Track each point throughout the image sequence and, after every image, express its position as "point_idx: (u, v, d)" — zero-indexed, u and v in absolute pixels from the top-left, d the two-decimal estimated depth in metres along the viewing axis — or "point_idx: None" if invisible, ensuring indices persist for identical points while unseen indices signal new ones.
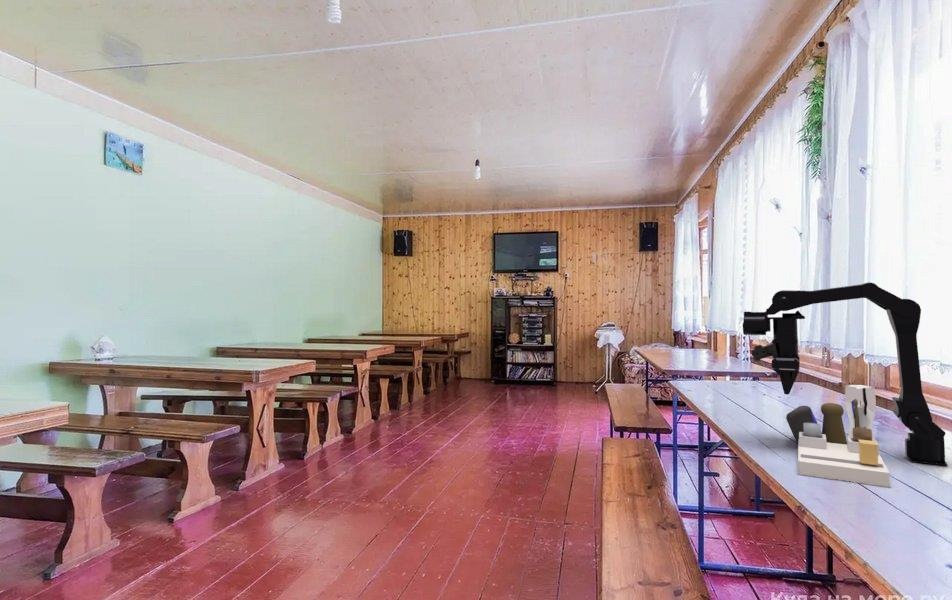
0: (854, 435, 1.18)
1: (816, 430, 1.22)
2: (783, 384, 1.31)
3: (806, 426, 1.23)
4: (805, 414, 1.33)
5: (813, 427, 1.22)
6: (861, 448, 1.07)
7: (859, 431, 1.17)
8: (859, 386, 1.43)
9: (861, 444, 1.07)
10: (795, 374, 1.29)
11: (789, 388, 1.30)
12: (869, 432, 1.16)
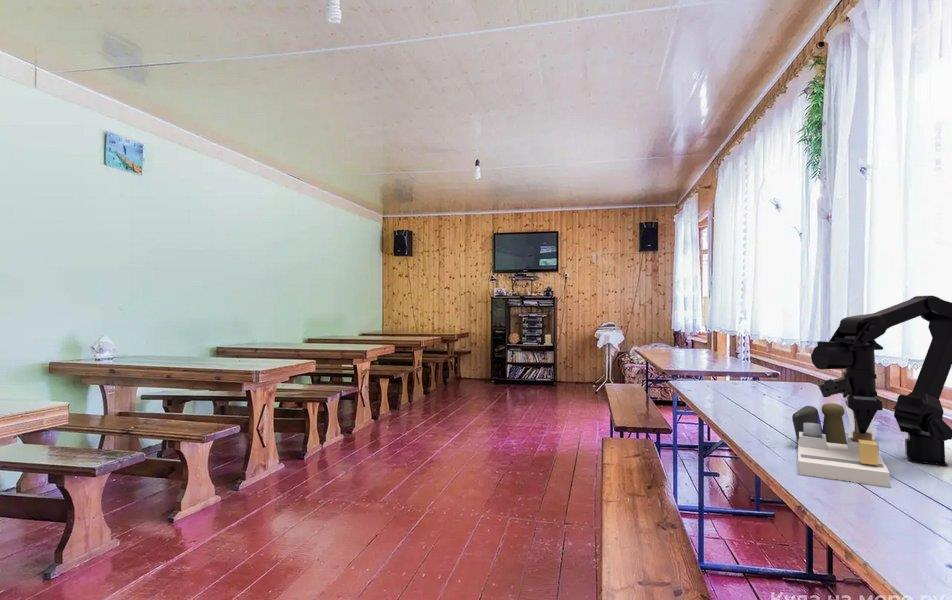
0: (854, 439, 1.18)
1: (816, 430, 1.22)
2: (859, 422, 1.18)
3: (806, 426, 1.23)
4: (812, 415, 1.32)
5: (813, 427, 1.22)
6: (861, 448, 1.07)
7: (859, 435, 1.17)
8: None
9: (861, 444, 1.07)
10: (873, 412, 1.15)
11: (866, 427, 1.17)
12: (869, 436, 1.16)
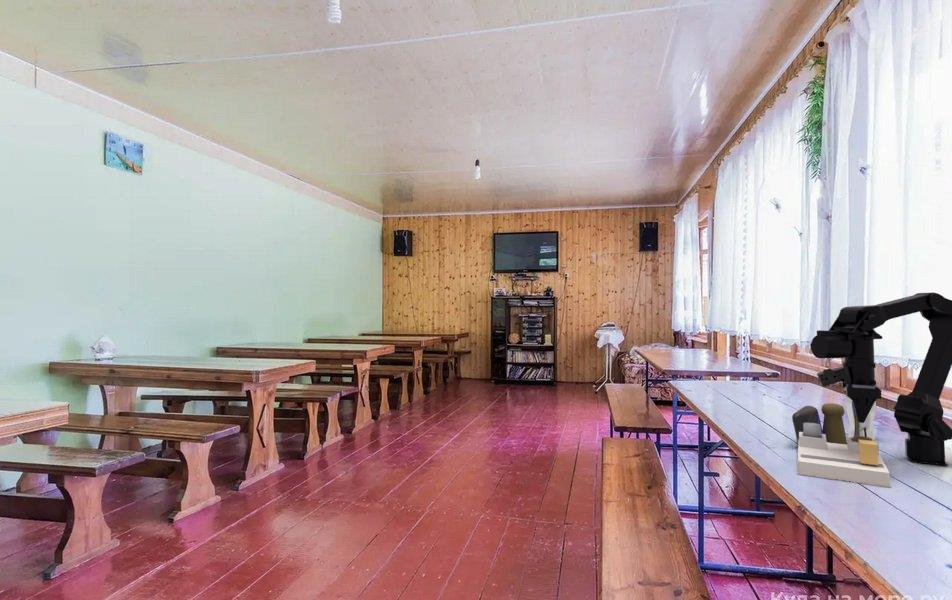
0: None
1: (816, 430, 1.22)
2: (857, 411, 1.18)
3: (806, 426, 1.23)
4: (812, 416, 1.32)
5: (813, 427, 1.22)
6: (861, 448, 1.07)
7: None
8: None
9: (861, 444, 1.07)
10: (872, 401, 1.15)
11: (864, 416, 1.17)
12: None
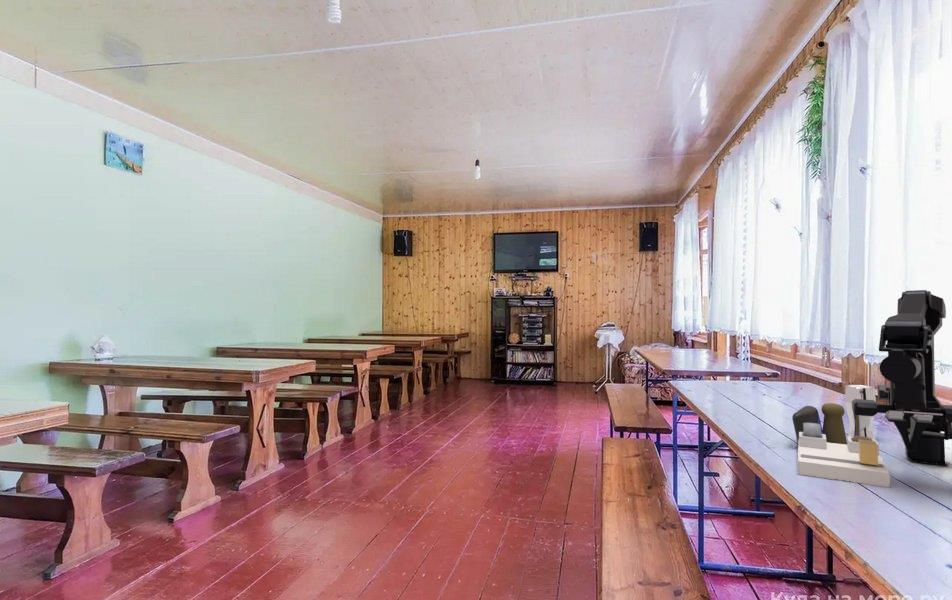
0: None
1: (816, 430, 1.22)
2: (901, 437, 1.06)
3: (806, 426, 1.23)
4: (812, 416, 1.32)
5: (813, 427, 1.22)
6: (861, 448, 1.07)
7: None
8: (859, 386, 1.43)
9: (861, 444, 1.07)
10: None
11: (904, 443, 1.04)
12: None
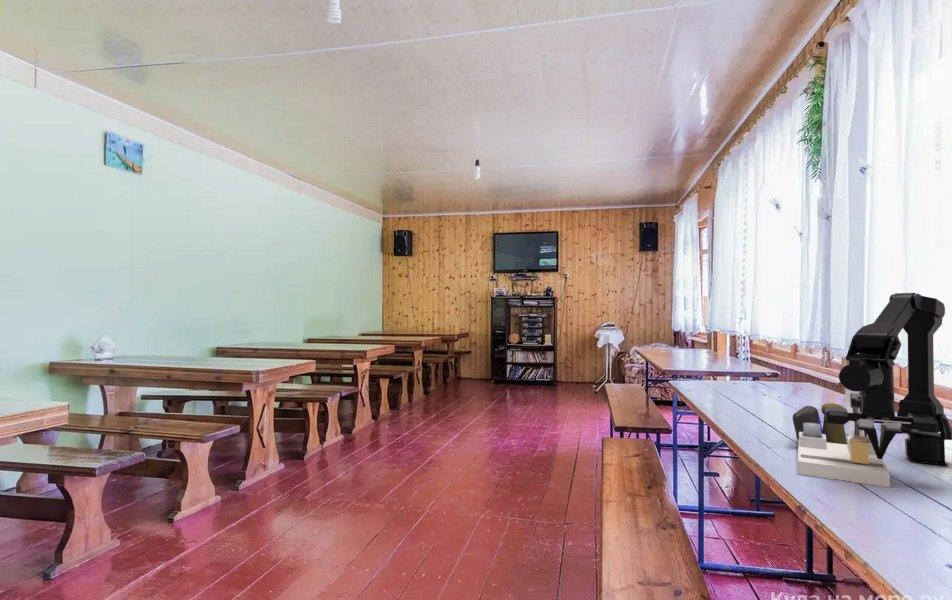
0: None
1: (816, 430, 1.22)
2: None
3: (806, 426, 1.23)
4: (812, 416, 1.32)
5: (813, 427, 1.22)
6: (852, 447, 1.08)
7: None
8: None
9: (852, 443, 1.08)
10: None
11: None
12: (869, 441, 1.16)
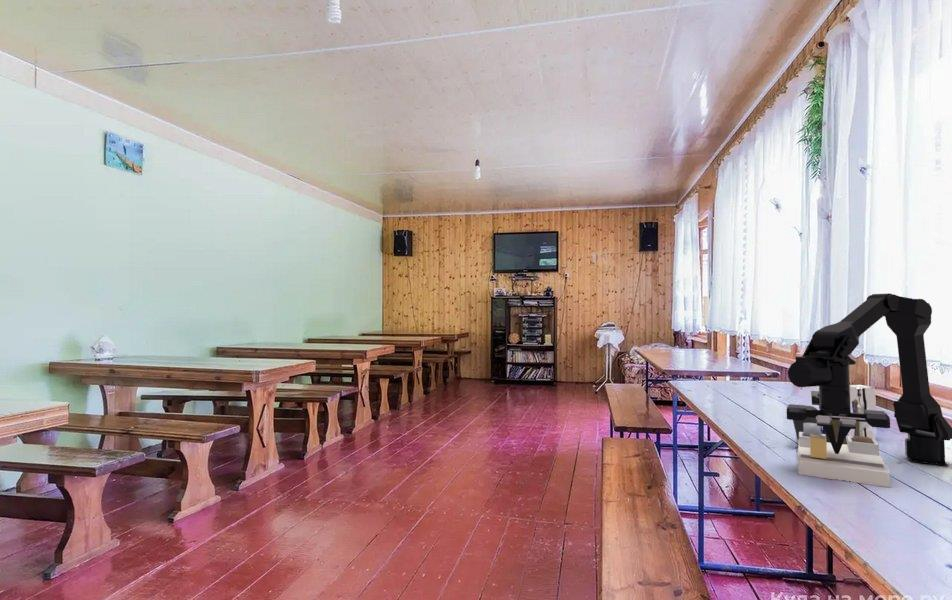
0: None
1: (816, 430, 1.22)
2: None
3: (806, 426, 1.23)
4: None
5: (813, 427, 1.22)
6: (811, 442, 1.12)
7: (859, 440, 1.17)
8: (859, 386, 1.43)
9: (811, 439, 1.12)
10: None
11: (832, 446, 1.11)
12: (869, 441, 1.16)
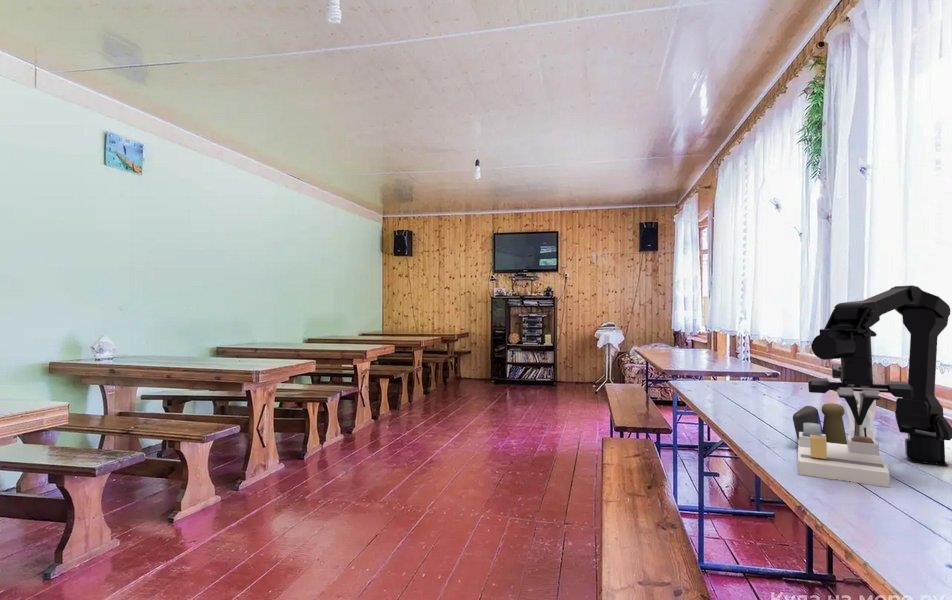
0: None
1: (816, 430, 1.22)
2: None
3: (806, 426, 1.23)
4: (812, 416, 1.32)
5: (813, 427, 1.22)
6: (811, 442, 1.12)
7: (859, 440, 1.17)
8: None
9: (811, 439, 1.12)
10: None
11: (854, 417, 1.12)
12: (869, 441, 1.16)
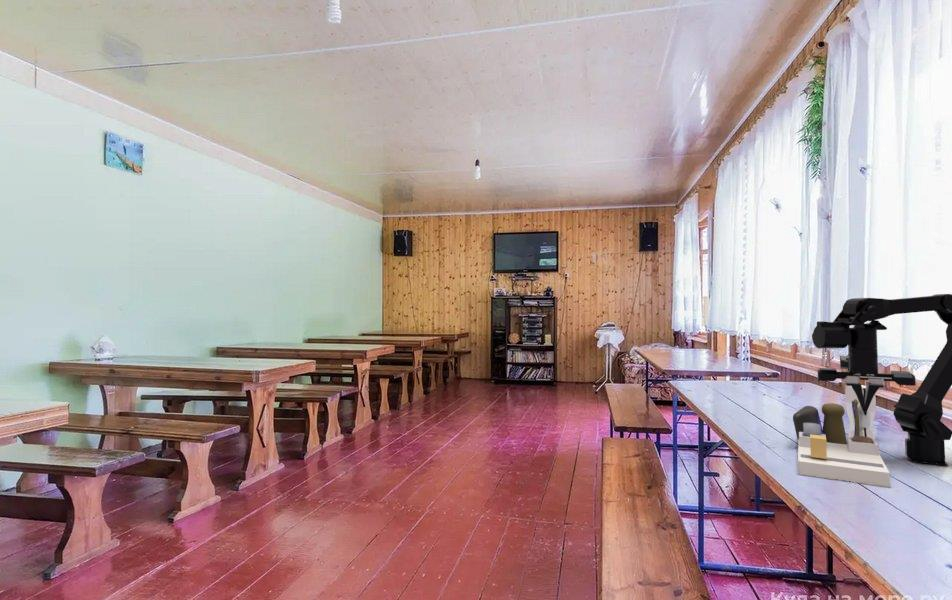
0: None
1: (816, 430, 1.22)
2: None
3: (806, 426, 1.23)
4: (813, 416, 1.32)
5: (813, 427, 1.22)
6: (811, 442, 1.12)
7: (859, 440, 1.17)
8: None
9: (811, 439, 1.12)
10: None
11: (860, 404, 1.21)
12: (869, 441, 1.16)
